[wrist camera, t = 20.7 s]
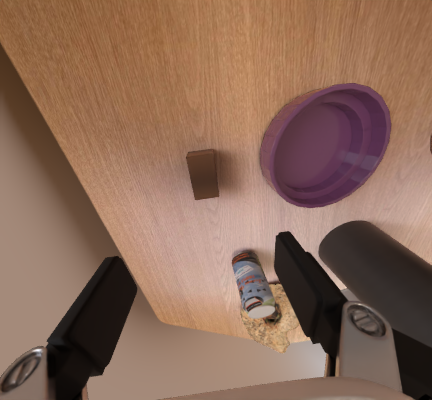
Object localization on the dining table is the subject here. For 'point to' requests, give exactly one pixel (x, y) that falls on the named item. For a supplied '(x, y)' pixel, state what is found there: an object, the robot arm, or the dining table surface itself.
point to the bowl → (325, 144)
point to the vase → (382, 276)
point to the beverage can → (253, 285)
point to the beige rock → (273, 322)
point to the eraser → (203, 174)
